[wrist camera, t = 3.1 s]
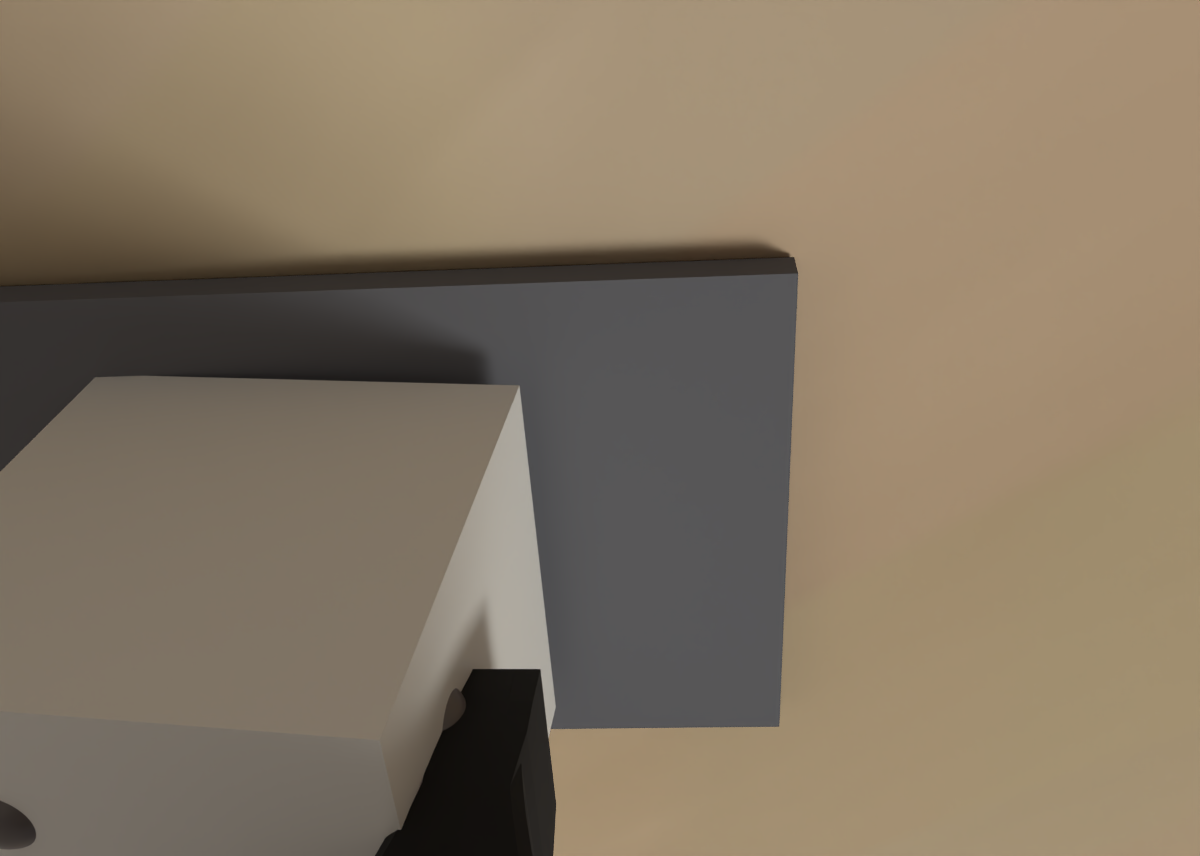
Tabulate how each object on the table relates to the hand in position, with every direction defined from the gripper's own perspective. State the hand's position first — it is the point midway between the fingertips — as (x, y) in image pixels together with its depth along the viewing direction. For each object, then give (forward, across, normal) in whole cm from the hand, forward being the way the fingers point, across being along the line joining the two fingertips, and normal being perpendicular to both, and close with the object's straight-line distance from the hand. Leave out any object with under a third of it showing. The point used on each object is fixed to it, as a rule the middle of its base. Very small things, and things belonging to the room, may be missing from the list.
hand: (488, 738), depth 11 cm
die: (+3, +2, 0) cm, 4 cm away
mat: (+4, +3, 0) cm, 5 cm away
